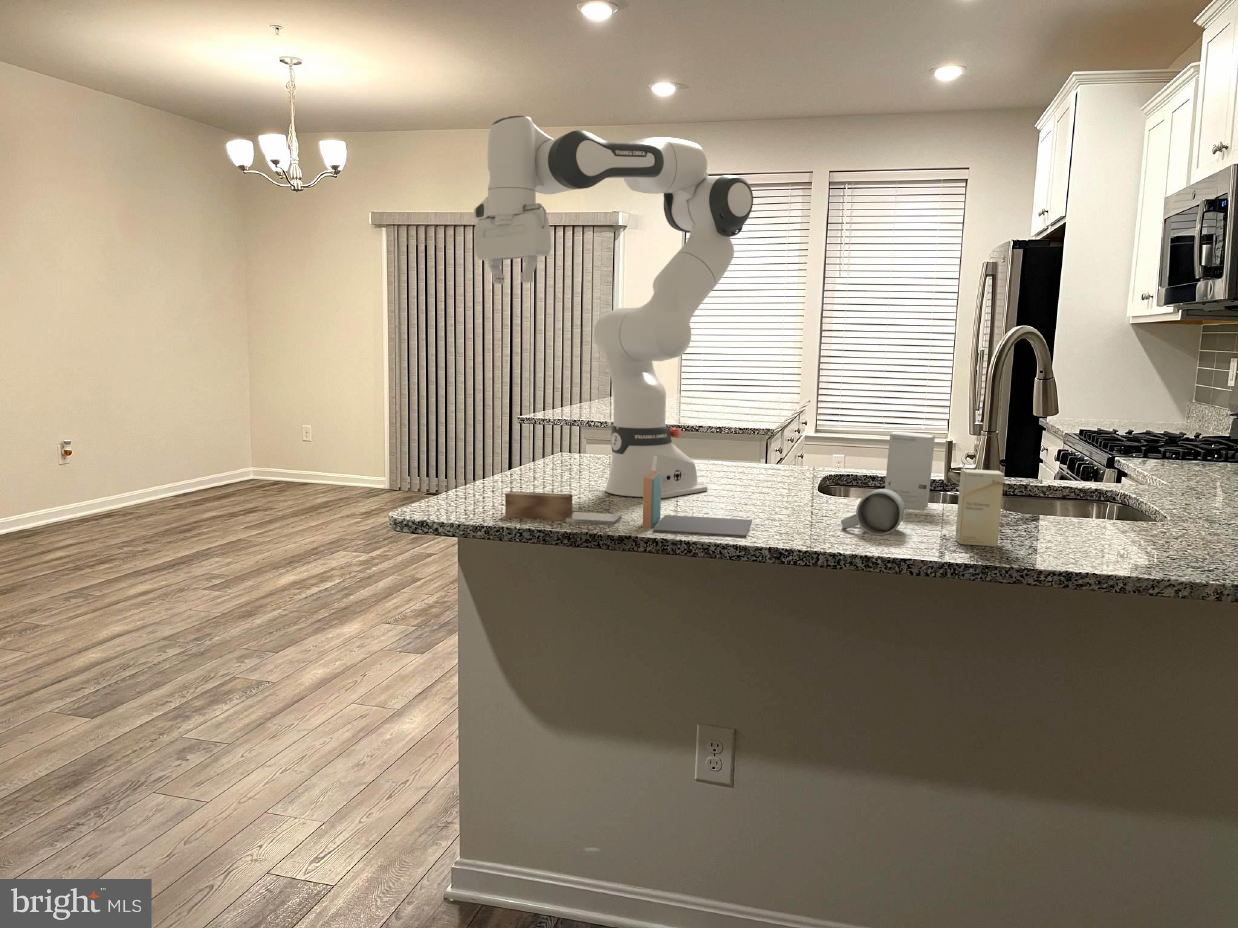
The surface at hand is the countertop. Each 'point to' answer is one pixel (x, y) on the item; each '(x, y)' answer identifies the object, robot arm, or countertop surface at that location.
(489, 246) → the robot arm
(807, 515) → the countertop surface
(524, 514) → the turner
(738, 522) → the mat
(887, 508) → the ceramic mug
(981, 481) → the skincare box
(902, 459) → the skincare box
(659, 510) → the tile
